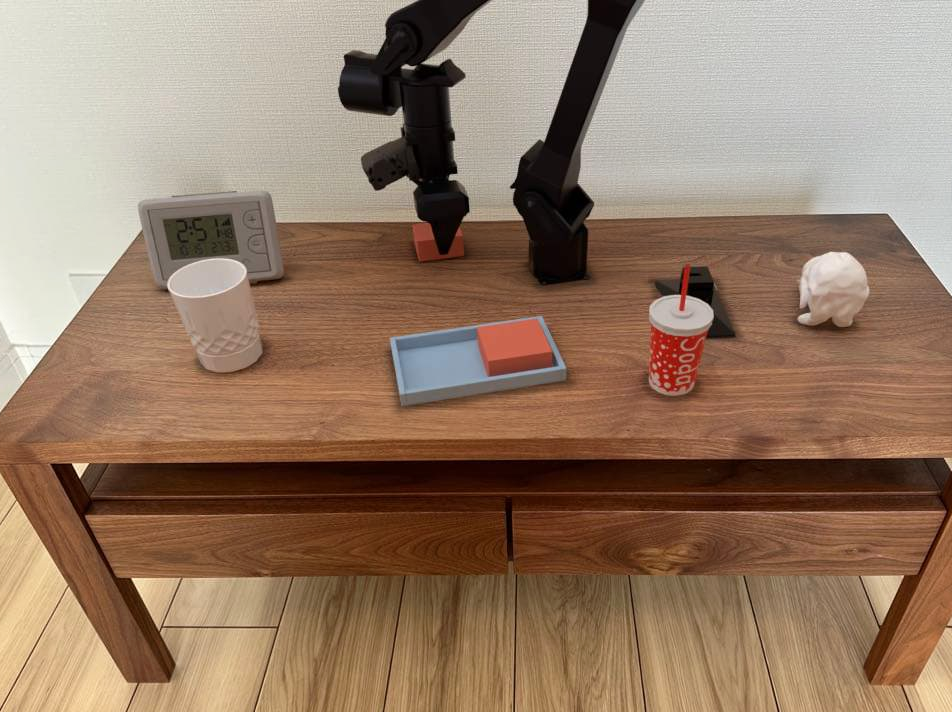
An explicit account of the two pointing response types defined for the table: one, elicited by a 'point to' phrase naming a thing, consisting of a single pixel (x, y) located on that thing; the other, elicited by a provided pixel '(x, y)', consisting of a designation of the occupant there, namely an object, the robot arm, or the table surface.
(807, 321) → the white lumpy figurine
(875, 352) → the table surface
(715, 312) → the black stand
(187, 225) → the digital clock
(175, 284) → the white cup
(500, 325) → the pad
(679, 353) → the beverage cup
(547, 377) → the tray
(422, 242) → the loose pad
